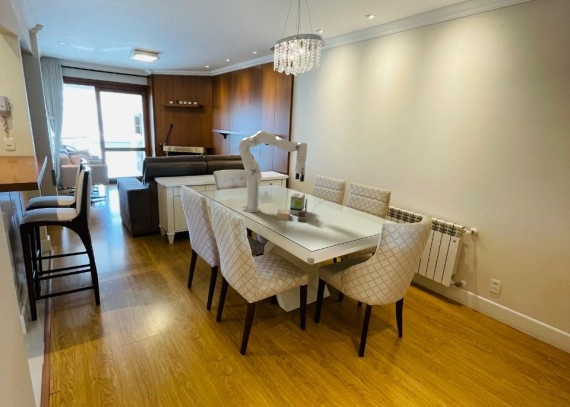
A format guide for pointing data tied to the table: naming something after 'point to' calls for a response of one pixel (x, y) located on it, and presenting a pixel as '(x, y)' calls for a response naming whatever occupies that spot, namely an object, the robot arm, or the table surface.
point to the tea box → (297, 203)
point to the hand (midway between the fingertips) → (299, 180)
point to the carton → (283, 214)
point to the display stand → (303, 214)
